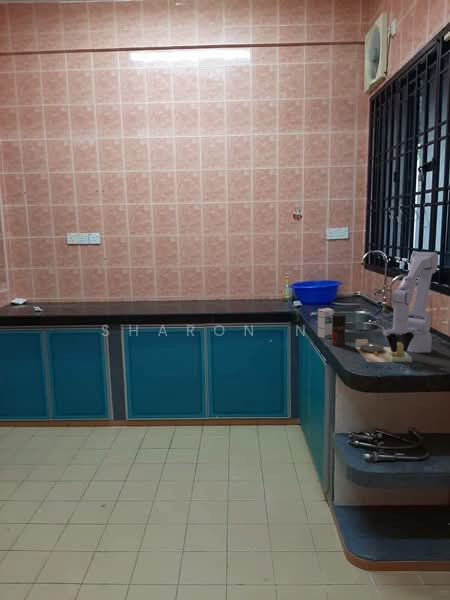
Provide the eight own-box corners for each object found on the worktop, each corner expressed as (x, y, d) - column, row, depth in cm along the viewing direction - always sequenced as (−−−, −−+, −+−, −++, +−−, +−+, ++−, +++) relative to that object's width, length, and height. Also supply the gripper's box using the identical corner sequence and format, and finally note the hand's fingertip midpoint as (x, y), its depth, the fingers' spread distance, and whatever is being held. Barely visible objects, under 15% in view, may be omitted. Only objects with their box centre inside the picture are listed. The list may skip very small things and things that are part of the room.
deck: (395, 348, 199) (395, 346, 198) (412, 363, 177) (413, 361, 177) (355, 348, 200) (355, 346, 200) (367, 363, 178) (367, 361, 178)
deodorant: (346, 347, 202) (347, 316, 199) (334, 348, 201) (334, 316, 199) (342, 344, 207) (343, 313, 205) (329, 344, 207) (330, 313, 204)
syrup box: (324, 339, 217) (324, 310, 215) (317, 336, 223) (317, 308, 220) (333, 337, 219) (334, 309, 217) (326, 335, 225) (327, 307, 222)
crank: (353, 346, 200) (353, 336, 199) (380, 346, 199) (381, 336, 198) (359, 354, 187) (359, 344, 187) (388, 354, 186) (388, 344, 185)
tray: (405, 356, 185) (405, 352, 184) (411, 362, 177) (411, 357, 177) (386, 356, 185) (386, 352, 185) (392, 361, 178) (392, 357, 177)
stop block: (398, 356, 183) (398, 342, 182) (402, 358, 181) (403, 344, 180) (392, 357, 183) (392, 343, 182) (396, 359, 180) (397, 345, 179)
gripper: (409, 315, 184) (407, 346, 186) (379, 318, 180) (377, 350, 182) (421, 319, 177) (419, 351, 179) (389, 321, 173) (388, 354, 176)
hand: (399, 351), depth 181 cm, fingers open, 5 cm apart
